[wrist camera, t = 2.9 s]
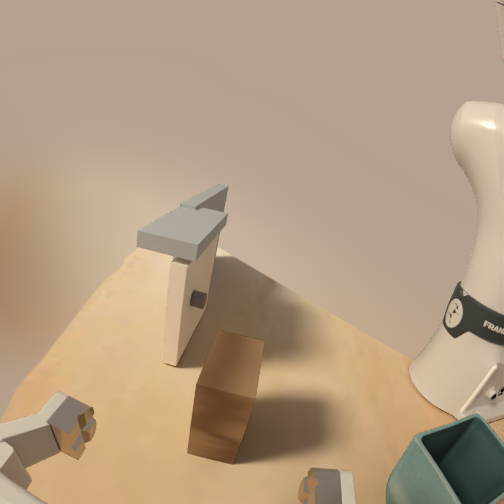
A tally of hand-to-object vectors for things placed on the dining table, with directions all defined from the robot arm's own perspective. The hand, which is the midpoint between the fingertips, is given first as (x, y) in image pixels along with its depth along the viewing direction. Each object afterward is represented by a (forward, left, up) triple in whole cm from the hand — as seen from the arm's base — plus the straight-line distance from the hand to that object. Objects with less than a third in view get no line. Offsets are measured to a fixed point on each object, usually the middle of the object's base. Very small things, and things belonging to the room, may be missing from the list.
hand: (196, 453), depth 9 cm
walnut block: (0, -12, -14) cm, 19 cm away
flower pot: (-19, -4, -14) cm, 24 cm away
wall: (+8, -36, -14) cm, 40 cm away
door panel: (+6, -26, -14) cm, 30 cm away
